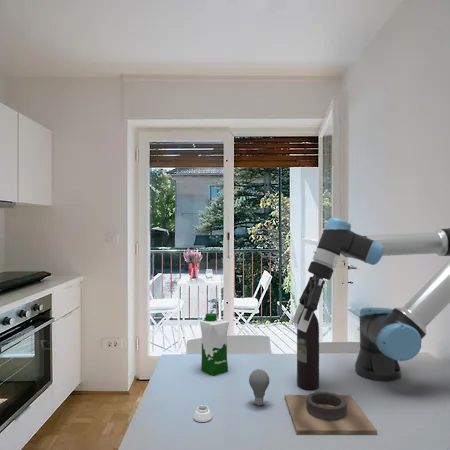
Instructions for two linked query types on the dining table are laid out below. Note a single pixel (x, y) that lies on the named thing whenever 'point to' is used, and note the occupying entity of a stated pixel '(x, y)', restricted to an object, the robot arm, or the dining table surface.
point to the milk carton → (214, 345)
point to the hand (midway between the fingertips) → (298, 326)
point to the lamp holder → (327, 414)
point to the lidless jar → (202, 414)
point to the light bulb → (259, 385)
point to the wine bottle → (308, 353)
